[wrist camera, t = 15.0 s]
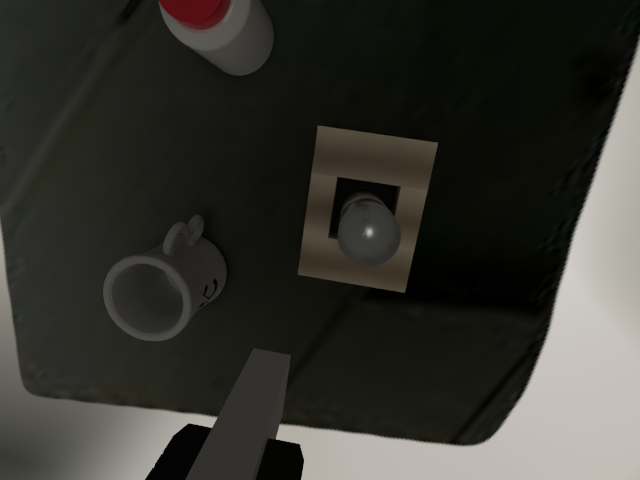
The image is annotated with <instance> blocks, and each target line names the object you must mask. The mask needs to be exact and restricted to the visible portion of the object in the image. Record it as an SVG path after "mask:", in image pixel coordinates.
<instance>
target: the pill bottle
mask: <svg viewBox="0 0 640 480" xmlns="http://www.w3.org/2000/svg"><path fill="white" fill-rule="evenodd" d="M158 1H159V6H160V10H161V14H162V16H163V19H164V21H165V23H166V25H167V26H168V28H169V29H170V31H171V32H172V33H173V34H174V36H175V37H176V38H177V39H178V40H180V41H181V42H182V43H184V44H185V45H186V46H188V47H189V48H190V49H192V50H193V51H195V52H196V53H197V54H199V55H200V56H202V57H203V58H205V59H206V60H207V61H209V62H210V63H212V64H213V65H214V66H216V67H217V68H219V69H220V70H222V71H224V72H226V73H228V74H231V75H239V76H242V75H247V74H250V73H252V72H255V71H256V70H258V69H259V68H260V67H261V66H262V65H263V64H264V63H265V62H266V60H267V59H268V57H269V55H270V53H271V50H272V47H273V42H274V30H273V24H272V21H271V18H270V16H269V14H268V12H267V10H266V9H265V7H264V5H263V3H262V1H261V0H158Z"/></svg>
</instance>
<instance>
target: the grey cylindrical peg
mask: <svg viewBox="0 0 640 480" xmlns="http://www.w3.org/2000/svg"><path fill="white" fill-rule="evenodd" d="M400 241H401V230H400V226H399V223H398V221H397V220H396V218H395V217H394V216H393V214H392V213H391V212H390V211H389V209H388V208H387V207H386V206H385V204H384V203H383V202H382V201H381V199H380V198H379V197H378V196H377V194H375V193H374V192H373V191H371V190H368V189H357V190H354V191H352V192H351V193H349V194H348V195H347V196H346V198H345V199H344V201H343V204H342V209H341V215H340V222H339V228H338V244H339V247H340V249H341V251H342V253H343V254H344V255H345V256H346V258H348V259H349V260H350V261H352V262H353V263H355V264H358V265H361V266H367V267H370V266H377V265H380V264H383V263H385V262H386V261H388V260H389V259H390V258H391V257H392V256H393V255H394V254H395V253H396V251H397V250H398V247H399V245H400Z"/></svg>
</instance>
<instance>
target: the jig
mask: <svg viewBox="0 0 640 480" xmlns="http://www.w3.org/2000/svg"><path fill="white" fill-rule="evenodd" d="M437 145H438V143H435V142H428V141H421V140H414V139H407V138H401V137H394V136H387V135H380V134H373V133H366V132H359V131H352V130H345V129H338V128H331V127H324V126H318V129H317V137H316V144H315V151H314V159H313V166H312V173H311V181H310V188H309V196H308V203H307V210H306V218H305V225H304V232H303V240H302V247H301V254H300V262H299V269H298V275H304V276H309V277H315V278H321V279H327V280H333V281H339V282H345V283H351V284H357V285H363V286H368V287H374V288H380V289H386V290H392V291H398V292H404V293H405V289H406V285H407V280H408V276H409V271H410V267H411V262H412V258H413V253H414V249H415V244H416V240H417V235H418V231H419V226H420V222H421V217H422V213H423V208H424V204H425V199H426V195H427V190H428V186H429V181H430V177H431V172H432V168H433V163H434V159H435V154H436V150H437ZM338 177H342V178H349V179H356V180H362V181H369V182H375V183H382V184H388V185H395V186H397V187H396V192H395V197H394V202H393V207H392V212H391V213H392V214H393V216H394V217H395V218H396V220H397V221H398V223H399V226H400V230H401V241H400V245H399V247H398V250H397V251H396V253H395V254H394V255H393V256H392V257H391V258H390V259H389V260H388V261H386V262H385V263H383V264H380V265H377V266H370V267H367V266H361V265H358V264H355V263H353V262H352V261H350V260H349V259H348V258H346V256H345V255H344V254H343V253H342V251H341V249H340V247H339V244H338V234H337V233H330V226H331V220H332V213H333V207H334V200H335V194H336V187H337V181H338Z"/></svg>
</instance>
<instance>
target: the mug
mask: <svg viewBox="0 0 640 480" xmlns="http://www.w3.org/2000/svg"><path fill="white" fill-rule="evenodd" d="M203 229H204V220H203V218H202V217H201V216H200V215H195V216H193V217H192V219H191V220H190V221H189V223H188V224H187V225H186V223H184V222H177V223H176V224H174V225H173V227H172V228H171V229H170V230H169V232H168V234H167V235H166V237H165V240H164V243H162V244H160V245H159V246H158V247H156V248H154V249H152V250H150V251H148V252H146V253H142V254H138V255H134V256H130V257H127V258H124V259H122V260H121V261H119V262H118V263H116V264H115V265H114V266H113V267H112V268H111V270H110V271H109V272H108V274H107V277H106V279H105V282H104V290H103V296H104V301H105V306H106V308H107V310H108V312H109V315H110V316H111V318H112V319H113V320H114V322H115V323H116V324H117V325H118V326H119V327H120V328H121V329H123V330H124V331H125V332H126V333H128V334H130V335H132V336H134V337H135V338H139V339H142V340H146V341H161V340H166V339H169V338H171V337H173V336H175V335H177V334H178V333H179V332H180V331H181V330H182V329H183V328H184V327H185V326H186V325H187V324H188V322H189V321H190V319H191V318H192V317H193V315H194V314H195V313H196V312H197V311H198V310H199V309H200V308H202V307H203V306H204V305H206V304H208V303H209V302H211V301H212V300H214V299H215V298H216V297H217V296H218V295H219V294H220V293H221V291H222V289H223V287H224V285H225V283H226V277H227V268H226V263H225V260H224V257H223V256H222V254H221V253H220V251H219V250H218V248H217V247H216V246H215V245H214V244H212V243H211V242H210V241H208V240H207V239H205V238H203V237H201V234H202V232H203ZM193 231H194V233H193ZM179 233H180V234H181V235H178V234H179ZM192 233H193V234H192Z"/></svg>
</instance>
